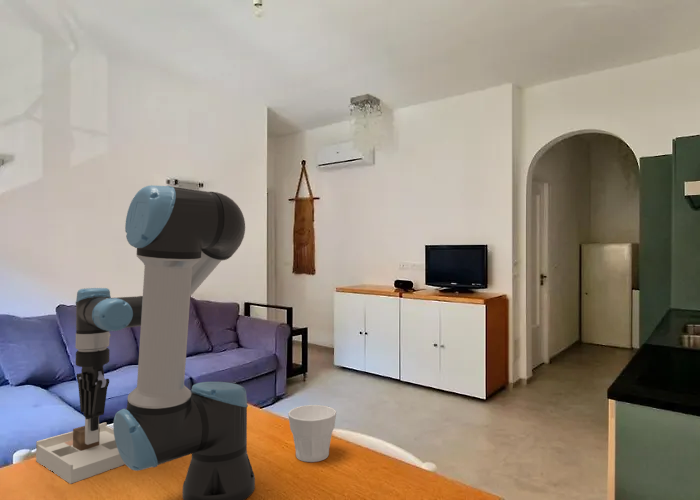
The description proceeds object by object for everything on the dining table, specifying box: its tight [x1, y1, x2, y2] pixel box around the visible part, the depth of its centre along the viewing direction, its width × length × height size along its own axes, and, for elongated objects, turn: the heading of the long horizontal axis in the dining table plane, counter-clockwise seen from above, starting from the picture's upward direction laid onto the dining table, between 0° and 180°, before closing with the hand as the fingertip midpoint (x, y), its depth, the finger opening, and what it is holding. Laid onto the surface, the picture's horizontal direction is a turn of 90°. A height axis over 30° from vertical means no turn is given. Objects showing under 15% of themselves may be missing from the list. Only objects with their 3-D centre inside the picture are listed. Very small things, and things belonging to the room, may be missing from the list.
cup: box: [287, 404, 337, 463], centre depth 118 cm, size 12×12×11 cm
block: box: [72, 425, 100, 451], centre depth 117 cm, size 4×4×4 cm
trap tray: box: [35, 422, 126, 485], centre depth 116 cm, size 20×17×5 cm
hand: (91, 442), depth 116 cm, fingers closed
